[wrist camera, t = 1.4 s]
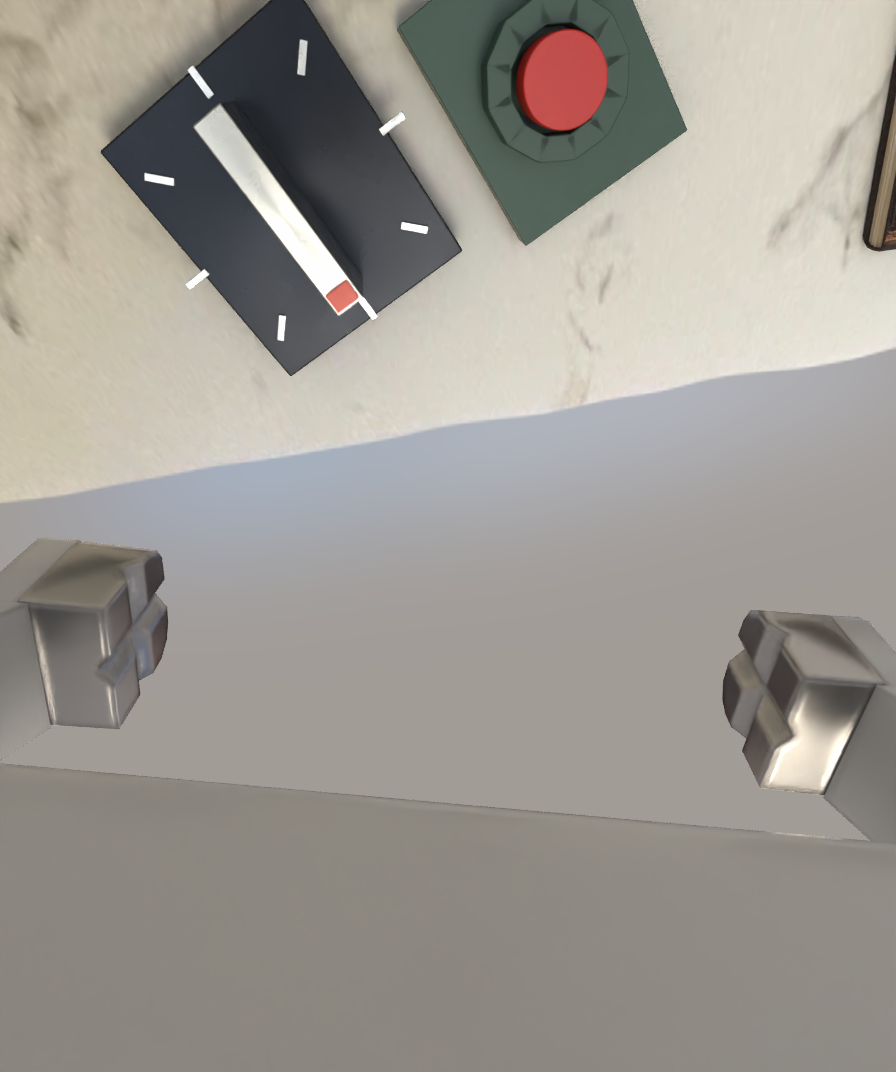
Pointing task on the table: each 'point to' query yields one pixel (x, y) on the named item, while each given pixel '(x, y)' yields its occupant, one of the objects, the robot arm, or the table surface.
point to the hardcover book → (884, 184)
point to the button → (562, 79)
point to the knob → (281, 204)
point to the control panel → (313, 164)
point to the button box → (506, 131)
